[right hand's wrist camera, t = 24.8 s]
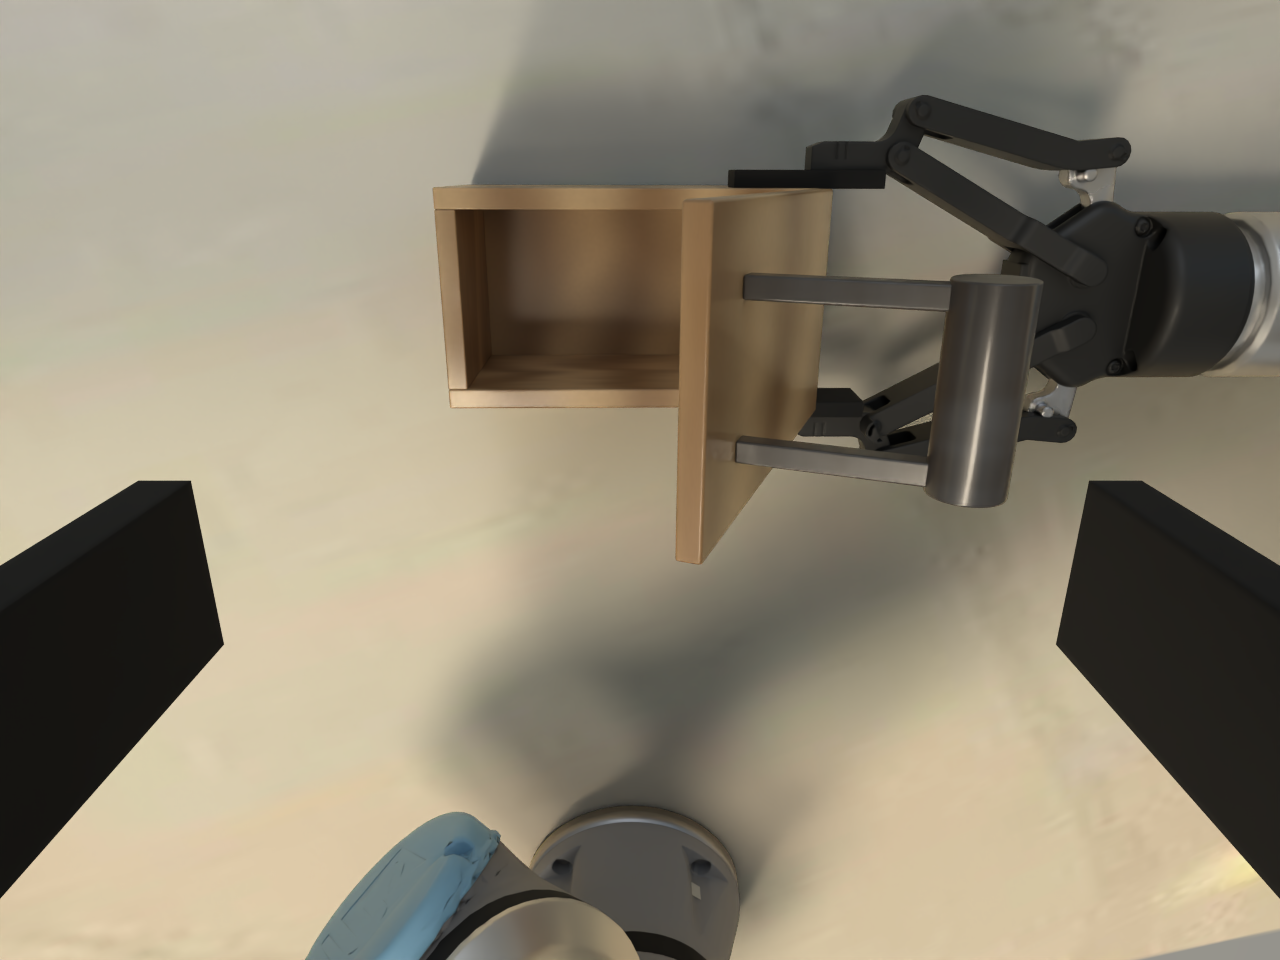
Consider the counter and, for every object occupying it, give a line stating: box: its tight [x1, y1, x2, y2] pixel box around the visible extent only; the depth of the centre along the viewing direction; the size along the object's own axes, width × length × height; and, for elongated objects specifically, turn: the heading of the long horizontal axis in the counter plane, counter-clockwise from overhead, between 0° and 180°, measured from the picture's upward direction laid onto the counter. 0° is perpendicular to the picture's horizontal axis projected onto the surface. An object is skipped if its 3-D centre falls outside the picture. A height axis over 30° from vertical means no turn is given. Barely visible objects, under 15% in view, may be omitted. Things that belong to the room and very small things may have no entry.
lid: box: [675, 189, 1044, 564], centre depth 27 cm, size 17×10×8 cm
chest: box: [433, 185, 820, 408], centre depth 40 cm, size 16×10×9 cm, turn 90°
